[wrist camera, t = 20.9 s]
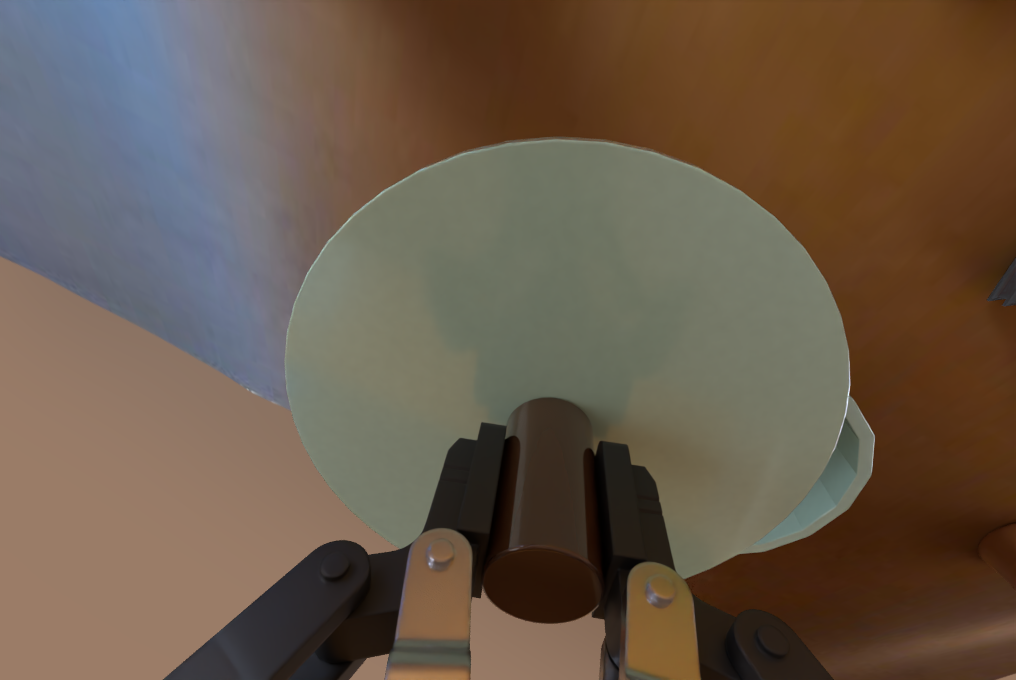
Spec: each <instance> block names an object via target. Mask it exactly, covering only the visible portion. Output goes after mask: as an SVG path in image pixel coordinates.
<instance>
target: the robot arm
mask: <svg viewBox="0 0 1016 680" xmlns="http://www.w3.org/2000/svg"><path fill="white" fill-rule="evenodd" d="M506 430H507V426H505V425H498V424H492V423H485V422H481V426H480V430H479V434H478V438H477V440H472V439H465V438H459V439H458V440H457V441H456V442H455V443H454V444H453V445H452V446H451V447H450V448H449V449H448V452H447V455H446V459H445V462H444V466H443V468H442V472H441V475H440V479H439V481H438V485H437V488H436V491H435V494H434V498H433V501H432V504H431V508H430V511H429V514H428V517H427V521H426V524H425V526H424V529H423V531H422V532H421V534H420V535H419V536H418V537H417V538H416V539H415V540H414V541H413V542H412V543H411V544H409V545H408V546H406V547H404V548H402V549H399V550H396V551H391V552H385V553H378V554H371V555H368V554H367V552H366V551H365V549H364V548H363V547H361V546H360V545H359V544H357V543H354V542H351V541H346V540H339V541H333V542H329V543H326V544H324V545H322V546H320V547H318V548H317V549H315V550H314V551H313V552H312V553H310V554H309V555H308V556H307V557H306V558H304V559H303V560H302V561H301V562H300V563H299V564H298V565H296V566H295V567H294V568H293V569H292V570H291V571H289V572H288V573H287V574H286V575H285V576H283V577H282V578H281V579H280V580H279V581H278V582H277V583H275V584H274V585H273V586H272V587H271V588H269V589H268V590H267V591H266V592H265V593H264V594H262V596H260V597H259V598H258V599H257V600H255V601H254V602H253V603H252V604H251V605H250V606H248V607H247V608H246V609H245V610H244V611H243V612H241V613H240V614H239V615H238V616H237V617H236V618H234V619H233V620H232V621H231V622H230V623H229V624H227V625H226V626H225V627H224V628H223V629H221V630H220V631H219V632H218V633H217V634H216V635H215V636H213V637H212V638H211V639H210V640H209V641H207V642H206V643H205V644H204V645H203V646H202V647H201V648H199V649H198V650H197V651H196V652H195V653H193V654H192V655H191V656H190V657H189V658H188V659H186V660H185V661H184V662H183V663H182V664H181V665H180V666H178V667H177V668H176V669H175V670H174V671H172V672H171V673H170V674H169V675H168V676H167V677H166V678H164V679H163V680H349V679H350V678H351V677H352V676H353V674H354V673H355V672H356V671H357V669H358V668H359V667H360V666H361V665H362V664H363V662H364V661H365V660H366V659H367V658H370V657H375V656H380V655H385V654H389V657H388V662H387V668H386V673H385V680H470V673H471V652H470V618H471V600H472V597H476V598H481V592H482V584H481V571H482V566H483V563H484V560H485V558H486V555H487V549H488V543H489V537H490V530H491V524H492V518H493V512H494V506H495V499H496V493H497V487H498V481H499V474H500V468H501V462H502V456H503V450H504V443H505V437H506ZM595 462H596V475H597V487H598V500H599V513H600V526H601V538H602V551H603V564H604V576H605V593H604V597H603V599H602V601H601V603H600V604H599V606H598V607H597V608H596V609H595V610H594V611H593V612H592V617H593V618H599V619H605V633H606V636H605V638H604V641H603V644H602V648H601V659H600V673H599V680H834V679H833V678H832V677H831V676H830V675H829V673H828V672H827V671H826V670H825V668H824V667H823V666H822V665H821V664H820V662H819V661H818V660H817V659H816V658H815V656H814V655H813V654H812V653H811V651H810V650H809V649H808V648H807V647H806V645H805V644H804V643H803V642H802V641H801V639H800V638H799V637H798V636H797V634H796V633H795V632H794V631H793V630H792V629H791V628H790V627H789V626H788V625H787V624H786V623H785V622H783V621H782V620H780V619H779V618H777V617H776V616H774V615H772V614H770V613H768V612H765V611H762V610H756V609H750V610H745V611H743V612H741V613H740V614H739V615H738V616H737V618H736V617H734V616H732V615H730V614H727V613H725V612H723V611H721V610H719V609H717V608H715V607H713V606H710V605H708V604H707V603H705V602H703V601H701V600H700V599H698V598H697V597H696V596H695V595H693V594H692V593H691V591H690V588H689V587H688V585H687V583H686V582H685V581H684V579H683V578H682V577H681V576H680V575H679V574H678V573H677V572H676V569H675V566H674V562H673V557H672V553H671V548H670V544H669V539H668V535H667V530H666V526H665V521H664V517H663V516H662V508H661V503H660V502H659V494H658V490H657V485H656V482H655V480H654V479H653V477H652V476H651V475H650V473H649V472H648V470H647V469H646V467H644V466H638V465H631V459H630V453H629V448H628V445H627V444H620V443H614V442H607V441H600V442H599V444H598V447H597V451H596V454H595Z"/></svg>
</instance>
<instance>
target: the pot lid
mask: <svg viewBox="0 0 1016 680" xmlns="http://www.w3.org/2000/svg"><path fill="white" fill-rule="evenodd" d="M285 375H286V389H287V395H288V399H289V403H290V408H291V412H292V416H293V420H294V422H295V425H296V428H297V430H298V433H299V435H300V438H301V441H302V443H303V445H304V447H305V449H306V451H307V453H308V454H309V456H310V458H311V460H312V462H313V464H314V465H315V467H316V469H317V470H318V471H319V473H320V474H321V476H322V477H323V479H324V480H325V481H326V483H327V484H328V486H329V487H330V488H331V489H332V491H333V492H334V493H335V494H336V495H337V496H338V497H339V499H340V500H341V501H342V502H343V503H344V504H345V505H346V506H347V507H348V509H349V510H350V511H351V512H353V513H354V514H355V515H356V516H357V517H358V518H359V519H360V520H361V521H363V522H364V523H365V524H366V525H367V526H369V528H371V529H372V530H374V531H375V532H376V533H378V534H379V535H380V536H382V537H383V538H384V539H386V540H387V541H388V542H390V543H391V544H393V545H394V546H396V547H398V548H399V549H402V548H404V547H406V546H408V545H409V544H411V543H412V542H413V541H414V540H415V539H416V538H417V537H418V536H419V535H420V534H421V532H422V531H423V529H424V526H425V524H426V521H427V517H428V514H429V511H430V508H431V504H432V501H433V498H434V494H435V491H436V488H437V485H438V481H439V479H440V475H441V472H442V468H443V466H444V462H445V459H446V455H447V452H448V449H449V448H450V447H451V446H452V445H453V444H454V443H455V442H456V441H457V440H458V439H459V438H465V439H472V440H477V438H478V434H479V430H480V426H481V422H485V423H492V424H498V425H505V426H507V430H506V437H505V443H504V450H503V456H502V462H501V468H500V474H499V481H498V487H497V493H496V499H495V506H494V512H493V518H492V524H491V530H490V537H489V543H488V549H487V555H486V558H485V560H484V563H483V566H482V571H481V584H482V588H483V591H484V593H485V595H486V596H487V598H488V599H489V600H490V602H491V603H492V604H494V605H495V606H496V607H497V608H499V609H500V610H501V611H503V612H505V613H506V614H508V615H511V616H513V617H515V618H518V619H521V620H525V621H529V622H533V623H541V624H558V623H566V622H571V621H575V620H578V619H580V618H583V617H585V616H587V615H588V614H590V613H591V612H593V611H594V610H595V609H596V608H597V607H598V606H599V604H600V603H601V601H602V599H603V597H604V593H605V576H604V564H603V551H602V538H601V526H600V513H599V500H598V487H597V475H596V462H595V454H596V451H597V447H598V444H599V442H600V441H607V442H614V443H620V444H627V445H628V448H629V453H630V459H631V465H638V466H644V467H646V469H647V470H648V472H649V473H650V475H651V476H652V477H653V479H654V480H655V482H656V485H657V490H658V494H659V502H660V503H661V508H662V516H663V517H664V521H665V526H666V530H667V535H668V539H669V544H670V548H671V553H672V557H673V562H674V566H675V569H676V572H677V573H678V574H679V575H680V576H681V577H682V578H683V579H686V578H688V577H691V576H693V575H696V574H698V573H701V572H703V571H706V570H708V569H711V568H713V567H715V566H717V565H719V564H720V563H722V562H724V561H726V560H728V559H730V558H732V557H734V556H736V555H738V554H739V553H741V552H742V551H744V550H745V549H747V548H748V547H750V546H751V545H753V544H754V543H756V542H757V541H759V540H760V539H762V538H763V537H764V536H766V535H767V534H768V533H769V532H770V531H772V530H773V529H774V528H775V527H776V526H778V525H779V524H780V523H781V522H782V521H783V520H785V519H786V518H787V516H788V515H789V514H790V513H791V512H792V511H793V510H794V509H795V508H796V507H797V506H798V505H799V504H800V503H801V501H802V500H803V499H804V498H805V497H806V496H807V494H808V493H809V491H810V490H811V488H812V487H813V486H814V484H815V483H816V481H817V480H818V479H819V477H820V476H821V474H822V473H823V471H824V469H825V467H826V465H827V463H828V461H829V459H830V457H831V455H832V453H833V451H834V449H835V447H836V445H837V442H838V439H839V435H840V432H841V429H842V426H843V423H844V420H845V417H846V410H847V403H848V396H849V389H850V366H849V348H848V344H847V339H846V335H845V330H844V326H843V322H842V317H841V314H840V312H839V309H838V307H837V305H836V302H835V300H834V298H833V295H832V293H831V290H830V288H829V286H828V283H827V281H826V280H825V278H824V277H823V275H822V274H821V272H820V270H819V269H818V267H817V266H816V264H815V263H814V261H813V260H812V258H811V257H810V255H809V254H808V252H807V251H806V249H805V248H804V247H803V246H802V245H801V244H800V243H799V241H798V240H797V239H796V238H795V237H794V236H793V235H792V234H791V233H790V232H789V231H788V230H787V229H786V228H785V227H784V226H783V224H782V223H781V222H780V221H779V220H778V219H777V218H776V217H775V216H773V215H772V214H771V213H769V212H768V211H767V210H765V209H764V208H763V207H762V206H760V205H759V204H758V203H756V202H755V201H754V200H752V199H751V198H750V197H748V196H747V195H746V194H745V193H743V192H742V191H741V190H739V189H738V188H736V187H735V186H733V185H731V184H729V183H727V182H726V181H724V180H722V179H720V178H718V177H716V176H714V175H713V174H711V173H709V172H707V171H705V170H703V169H702V168H700V167H698V166H696V165H694V164H691V163H688V162H686V161H683V160H680V159H677V158H675V157H672V156H669V155H666V154H663V153H661V152H658V151H655V150H652V149H649V148H644V147H639V146H634V145H629V144H624V143H619V142H614V141H609V140H605V139H588V138H572V137H546V138H534V139H522V140H510V141H506V142H501V143H497V144H492V145H488V146H484V147H479V148H475V149H470V150H466V151H463V152H461V153H458V154H456V155H453V156H450V157H448V158H445V159H443V160H440V161H437V162H435V163H432V164H430V165H427V166H425V167H423V168H421V169H420V170H418V171H416V172H414V173H412V174H411V175H409V176H407V177H405V178H404V179H402V180H400V181H398V182H397V183H395V184H393V185H391V186H390V187H388V188H386V189H385V190H383V191H382V192H381V193H380V194H378V195H377V196H376V197H375V198H373V199H372V200H371V201H369V202H368V203H367V204H366V205H364V206H363V207H362V208H361V209H359V210H358V211H357V212H356V213H354V214H353V215H352V216H351V217H350V218H349V219H348V220H347V221H346V222H345V224H344V225H343V226H342V227H341V228H340V229H339V230H338V231H337V232H336V233H335V234H334V235H333V237H332V238H331V239H330V240H329V241H328V242H327V243H326V245H325V246H324V248H323V249H322V251H321V252H320V254H319V256H318V257H317V259H316V260H315V262H314V263H313V265H312V266H311V268H310V269H309V271H308V273H307V275H306V277H305V279H304V282H303V284H302V286H301V289H300V291H299V293H298V295H297V298H296V300H295V303H294V307H293V311H292V315H291V319H290V322H289V326H288V330H287V339H286V351H285Z"/></svg>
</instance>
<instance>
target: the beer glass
mask: <svg viewBox="0 0 1016 680" xmlns="http://www.w3.org/2000/svg"><path fill="white" fill-rule="evenodd" d="M978 554H979V556H980V558H981V559H982V560H983V561H984V562H985V563H986V564H987V565H989V566H990V567H991V568H992V569H993V570H995V571H996V572H997V573H998V574H999V575H1000V576H1002V577H1003V578H1004V579H1005V580H1006V581H1007V582H1008V583H1009V584H1010V585H1011V586H1012V588H1013V589H1014V590H1015V591H1016V523H1014V524H1009V525H1006V526H1003V527H1000V528H998V529H996V530H994V531H992V532H990V533H989V534H988V535H986V536H985V537H984V538H983V539H982V540H981V542H980V543H979V545H978Z"/></svg>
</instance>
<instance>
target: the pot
mask: <svg viewBox="0 0 1016 680" xmlns="http://www.w3.org/2000/svg"><path fill="white" fill-rule="evenodd" d="M874 441H875V436H874V433H873V432H872V430H871V428H870V426H869V425H868V423H867V421H866V419H865V418H864V416H863V414H862V412H861V411H860V409H859V407H858V406H857V404H856V402H855V400H854V399H853V398H852V397H851V396H850V395H849V396H848V403H847V410H846V417H845V420H844V423H843V426H842V429H841V432H840V435H839V439H838V442H837V445H836V447H835V449H834V451H833V453H832V455H831V457H830V459H829V461H828V463H827V465H826V467H825V469H824V471H823V473H822V474H821V476H820V477H819V479H818V480H817V481H816V483H815V484H814V486H813V487H812V488H811V490H810V491H809V493H808V494H807V496H806V497H805V498H804V499H803V500H802V501H801V503H800V504H799V505H798V506H797V507H796V508H795V509H794V510H793V511H792V512H791V513H790V514H789V515H788V516H787V518H786V519H785V520H783V521H782V522H781V523H780V524H779V525H778V526H776V527H775V528H774V529H773V530H772V531H770V532H769V533H768V534H767V535H766V536H764V537H763V538H762V539H760V540H759V541H757V542H756V543H754V544H753V545H751V546H750V547H748V548H747V549H745V550H744V551H742V552H741V553H739V554H745V553H756V552H765V551H768V550H771V549H773V548H776V547H779V546H782V545H785V544H788V543H791V542H794V541H797V540H800V539H802V538H805V537H808V536H809V535H812V534H813V533H815V532H816V531H818V530H819V529H821V528H822V527H823V526H825V525H826V524H828V523H829V522H831V521H832V520H833V519H835V518H836V517H838V516H839V515H841V514H842V513H843V512H845V511H846V510H847V509H849V508H850V506H851V505H852V503H853V502H854V500H855V499H856V497H857V496H858V494H859V493H860V491H861V490H862V488H863V487H864V485H865V484H866V483H867V481H868V480H869V478H870V477H871V474H872V464H873V452H874Z"/></svg>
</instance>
